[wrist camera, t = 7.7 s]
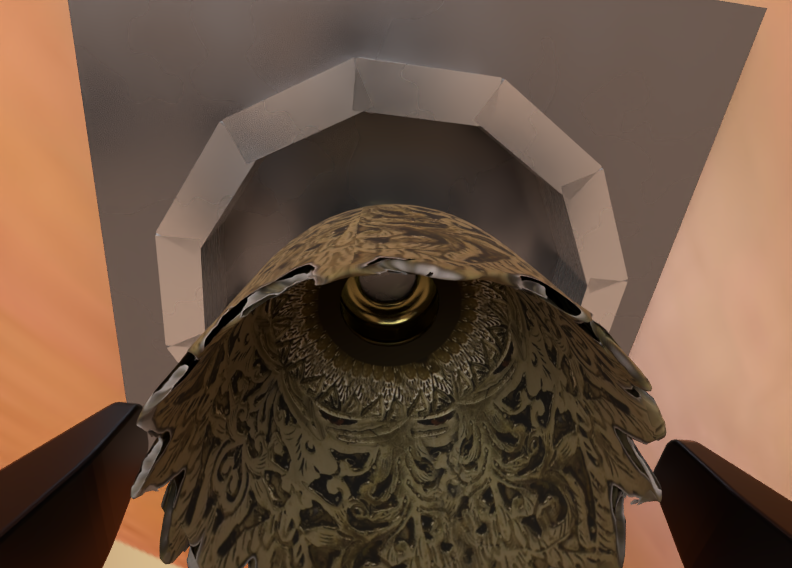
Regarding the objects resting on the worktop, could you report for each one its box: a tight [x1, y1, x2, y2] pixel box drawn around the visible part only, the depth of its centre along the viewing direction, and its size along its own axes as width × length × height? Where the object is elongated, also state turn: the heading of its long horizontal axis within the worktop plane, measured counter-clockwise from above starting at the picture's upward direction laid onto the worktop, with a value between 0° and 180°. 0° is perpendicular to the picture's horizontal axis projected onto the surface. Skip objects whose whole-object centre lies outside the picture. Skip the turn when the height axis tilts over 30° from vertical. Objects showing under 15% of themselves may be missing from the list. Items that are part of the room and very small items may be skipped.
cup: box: [131, 204, 666, 568], centre depth 10 cm, size 8×7×8 cm
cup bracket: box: [68, 0, 767, 451], centre depth 13 cm, size 16×16×3 cm
